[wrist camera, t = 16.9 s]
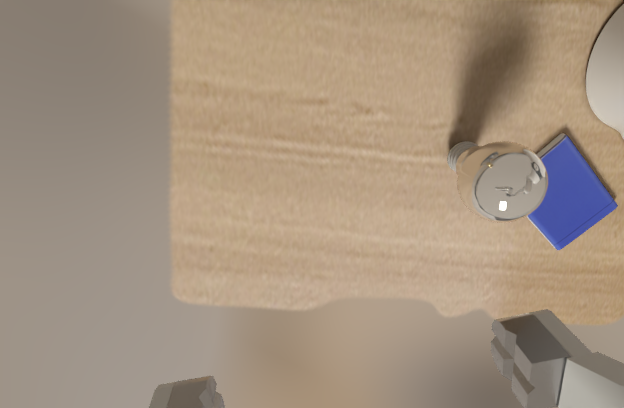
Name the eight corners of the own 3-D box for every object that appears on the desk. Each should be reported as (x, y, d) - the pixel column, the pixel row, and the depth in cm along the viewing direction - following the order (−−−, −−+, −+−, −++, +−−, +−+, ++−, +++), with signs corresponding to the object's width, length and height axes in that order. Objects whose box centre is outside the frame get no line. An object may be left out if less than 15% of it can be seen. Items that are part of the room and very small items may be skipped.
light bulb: (470, 106, 38) (548, 137, 27) (501, 155, 40) (583, 202, 29) (413, 150, 39) (465, 196, 28) (446, 195, 42) (506, 253, 31)
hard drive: (504, 189, 41) (559, 251, 45) (568, 135, 39) (620, 206, 43) (496, 183, 42) (550, 244, 47) (558, 131, 40) (609, 200, 45)
